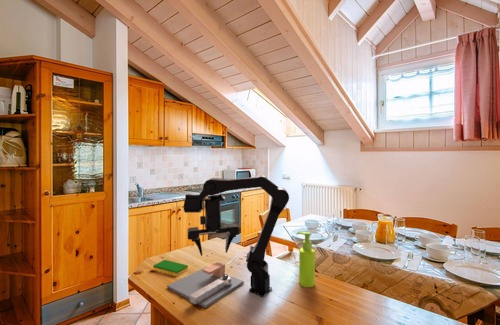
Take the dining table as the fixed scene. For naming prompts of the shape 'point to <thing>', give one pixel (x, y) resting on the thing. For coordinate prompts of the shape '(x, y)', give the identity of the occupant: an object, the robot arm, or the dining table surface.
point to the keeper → (215, 269)
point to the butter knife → (234, 258)
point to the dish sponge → (170, 268)
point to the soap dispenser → (306, 262)
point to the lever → (211, 289)
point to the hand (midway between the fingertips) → (214, 253)
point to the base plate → (199, 281)
